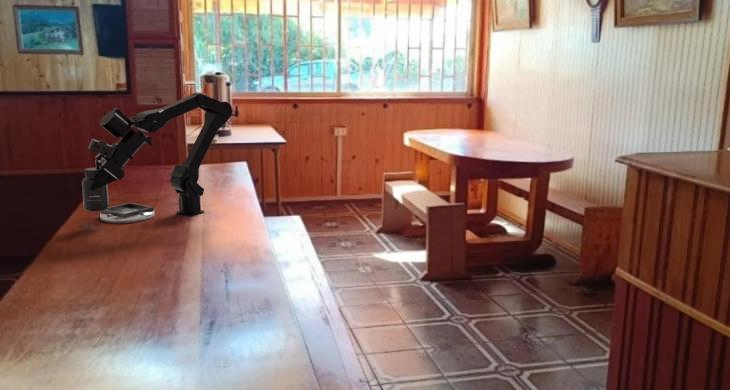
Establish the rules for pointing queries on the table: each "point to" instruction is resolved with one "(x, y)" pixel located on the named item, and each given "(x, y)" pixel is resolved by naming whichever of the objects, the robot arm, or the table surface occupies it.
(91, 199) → the supplement bottle
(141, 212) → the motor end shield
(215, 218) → the table surface
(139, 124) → the robot arm
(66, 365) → the table surface
